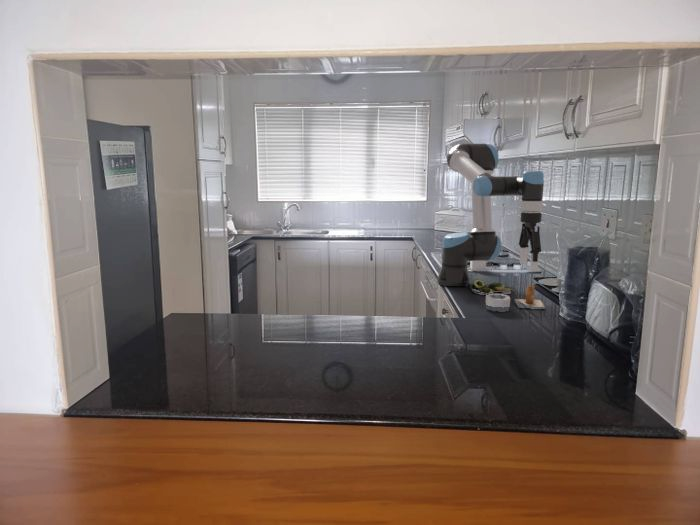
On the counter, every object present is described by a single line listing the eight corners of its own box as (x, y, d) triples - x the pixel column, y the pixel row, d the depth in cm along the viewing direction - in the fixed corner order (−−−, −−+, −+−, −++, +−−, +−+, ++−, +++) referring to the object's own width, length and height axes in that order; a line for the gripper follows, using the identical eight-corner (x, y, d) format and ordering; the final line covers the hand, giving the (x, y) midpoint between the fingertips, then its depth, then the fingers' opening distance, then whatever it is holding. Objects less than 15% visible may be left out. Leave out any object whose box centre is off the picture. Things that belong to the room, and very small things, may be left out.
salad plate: (511, 287, 231) (511, 277, 230) (520, 298, 213) (520, 287, 212) (467, 286, 232) (468, 276, 232) (473, 296, 215) (474, 286, 214)
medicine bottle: (483, 268, 269) (484, 246, 266) (485, 271, 262) (487, 248, 259) (469, 268, 269) (471, 245, 267) (471, 270, 262) (473, 248, 260)
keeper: (517, 308, 197) (519, 288, 195) (514, 301, 207) (515, 282, 205) (544, 310, 195) (546, 290, 194) (540, 302, 205) (541, 283, 203)
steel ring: (486, 311, 193) (487, 299, 192) (484, 305, 202) (485, 293, 201) (510, 313, 192) (511, 300, 190) (507, 306, 200) (508, 294, 199)
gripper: (552, 214, 180) (549, 272, 184) (531, 209, 205) (528, 261, 208) (531, 214, 181) (528, 272, 184) (512, 210, 205) (510, 261, 209)
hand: (528, 266), depth 196 cm, fingers open, 13 cm apart
